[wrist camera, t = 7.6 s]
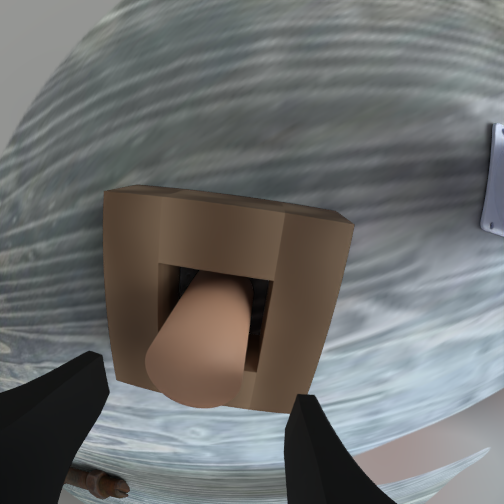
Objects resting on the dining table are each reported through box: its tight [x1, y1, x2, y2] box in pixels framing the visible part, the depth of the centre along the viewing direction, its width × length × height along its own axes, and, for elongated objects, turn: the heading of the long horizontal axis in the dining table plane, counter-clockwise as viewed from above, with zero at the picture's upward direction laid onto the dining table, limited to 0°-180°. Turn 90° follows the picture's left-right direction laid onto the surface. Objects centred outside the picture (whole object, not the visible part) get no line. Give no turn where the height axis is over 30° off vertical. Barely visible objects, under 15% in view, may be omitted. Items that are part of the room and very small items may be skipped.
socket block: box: [103, 185, 354, 414], centre depth 16 cm, size 12×12×4 cm
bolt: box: [63, 467, 130, 499], centre depth 27 cm, size 6×5×15 cm
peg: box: [145, 270, 254, 408], centre depth 15 cm, size 4×4×8 cm
